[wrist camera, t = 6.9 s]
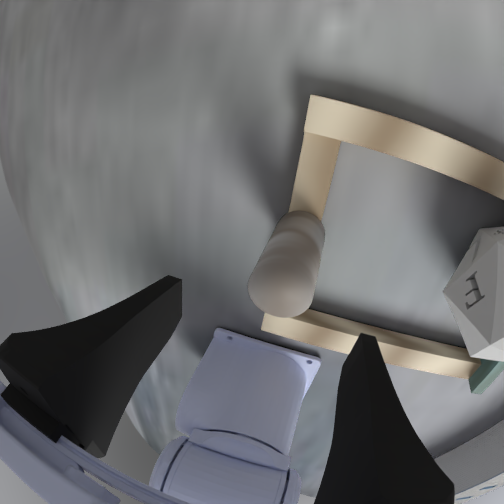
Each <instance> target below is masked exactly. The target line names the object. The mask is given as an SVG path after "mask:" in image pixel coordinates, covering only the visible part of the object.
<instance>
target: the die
mask: <svg viewBox="0 0 504 504" xmlns="http://www.w3.org/2000/svg"><path fill="white" fill-rule="evenodd" d="M443 293H444V296H445V298H446V300H447V302H448V304H449V306H450V309H451V311H452V313H453V316H454V318H455V320H456V322H457V325H458V327H459V330H460V332H461V335H462V337H463V340H464V342H465V345H466V347H467V350H468V352H469V355H470V357H475V358H481V359H488V360H495V361H502V362H504V227H492V228H480V229H479V230H478V232H477V234H476V236H475V238H474V240H473V241H472V243H471V245H470V247H469V250H468V251H467V252H466V254H465V256H464V257H463V259H462V261H461V263H460V264H459V266H458V268H457V269H456V271H455V273H454V274H453V276H452V277H451V279H450V281H449V282H448V284H447V285H446V287H445V288H444V290H443Z"/></svg>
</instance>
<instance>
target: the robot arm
mask: <svg viewBox="0 0 504 504" xmlns="http://www.w3.org/2000/svg"><path fill="white" fill-rule="evenodd" d="M181 317H182V279H179V278H176V277H173V276H170V275H168V276H166V277H164V278H162V279H161V280H159V281H157V282H155V283H153V284H152V285H150V286H148V287H147V288H145V289H143V290H141V291H140V292H138V293H136V294H134V295H132V296H130V297H129V298H127V299H125V300H123V301H121V302H119V303H117V304H115V305H113V306H111V307H109V308H107V309H105V310H102V311H100V312H98V313H95V314H93V315H90V316H88V317H85V318H82V319H79V320H76V321H73V322H70V323H66V324H63V325H60V326H56V327H51V328H47V329H42V330H36V331H29V332H22V333H12V334H11V335H10V336H9V337H8V338H7V339H6V340H5V341H4V342H3V343H2V344H1V345H0V369H1V371H2V372H3V374H4V375H5V377H6V378H7V380H8V381H9V382H10V384H9V385H8V386H7V387H6V386H5V385H4V384H3V383H2V382H1V381H0V459H1V460H2V461H3V462H4V463H5V464H6V465H7V466H8V467H9V468H10V469H11V470H12V471H13V472H14V473H15V474H16V475H17V476H18V477H19V478H20V479H21V480H22V481H23V482H24V483H26V484H27V485H28V486H29V487H30V488H31V489H32V490H33V491H34V492H36V493H37V494H38V495H39V496H40V497H41V498H42V499H44V500H45V501H46V502H47V503H49V504H119V503H120V499H119V498H118V497H116V496H114V495H113V494H112V493H110V492H109V491H108V490H107V489H106V488H105V487H104V486H102V485H101V484H99V483H97V482H96V481H94V480H93V479H91V478H90V477H88V476H87V475H85V474H84V470H85V471H87V472H88V473H90V474H91V475H93V476H95V477H96V478H98V479H99V480H101V481H103V482H105V483H106V484H108V485H110V486H112V487H114V488H115V489H117V490H119V491H121V492H122V493H125V494H126V495H128V496H130V497H132V498H134V499H136V500H138V501H140V502H142V503H144V504H297V503H298V500H299V495H300V491H301V478H300V476H299V475H298V472H297V470H295V469H291V468H289V465H290V462H291V457H290V456H288V454H289V451H290V447H291V443H292V440H293V436H294V432H295V428H296V424H297V420H298V416H299V412H300V408H301V404H302V400H303V398H304V396H305V394H306V392H307V390H308V389H309V387H310V385H311V383H312V381H313V379H314V377H315V375H316V373H317V371H318V369H319V367H320V365H321V359H320V358H318V357H315V356H312V355H308V354H304V353H301V352H297V351H294V350H290V349H287V348H283V347H280V346H276V345H273V344H270V343H266V342H263V341H260V340H256V339H253V338H250V337H247V336H244V335H241V334H237V333H234V332H231V331H228V330H225V329H222V328H216V329H215V331H214V338H213V339H212V341H211V343H210V345H209V347H208V348H207V350H206V352H205V354H204V356H203V357H202V359H201V361H200V363H199V365H198V367H197V368H196V370H195V372H194V374H193V376H192V378H191V379H190V381H189V383H188V385H187V387H186V389H185V391H184V394H183V396H182V399H181V401H180V404H179V407H178V410H177V415H176V422H175V425H176V429H177V430H178V431H180V432H182V433H184V434H186V435H188V436H190V437H189V438H188V437H186V436H180V437H178V438H177V439H174V440H172V441H171V442H169V443H168V445H167V446H166V447H165V448H164V450H163V451H162V453H161V454H160V456H159V458H158V460H157V462H156V464H155V466H154V469H153V472H152V474H151V478H150V482H149V486H148V485H146V484H144V483H142V482H140V481H138V480H136V479H134V478H132V477H129V476H128V475H126V474H124V473H122V472H120V471H118V470H117V469H115V468H113V467H111V466H109V465H108V464H106V463H104V462H103V461H101V460H99V459H98V458H101V457H104V456H105V455H106V452H107V450H108V447H109V445H110V442H111V439H112V437H113V434H114V432H115V430H116V427H117V426H118V423H119V421H120V419H121V417H122V415H123V413H124V410H125V408H126V406H127V404H128V402H129V400H130V398H131V397H132V395H133V393H134V391H135V389H136V387H137V385H138V384H139V382H140V380H141V379H142V377H143V376H144V374H145V373H146V371H147V370H148V368H149V367H150V366H151V364H152V363H153V361H154V360H155V359H156V357H157V356H158V354H159V353H160V352H161V350H162V349H163V347H164V346H165V345H166V343H167V342H168V340H169V339H170V337H171V336H172V334H173V332H174V330H175V329H176V327H177V325H178V323H179V321H180V319H181ZM230 336H231V337H230ZM309 360H311V361H309ZM81 448H82V449H81ZM454 500H455V487H454V483H453V482H452V481H451V480H450V479H449V477H448V476H447V475H446V474H445V473H444V472H443V471H442V469H441V468H440V467H439V466H438V464H437V463H436V462H435V460H434V459H433V458H432V457H431V455H430V454H429V452H428V451H427V449H426V448H425V446H424V445H423V443H422V442H421V440H420V439H419V437H418V435H417V434H416V432H415V430H414V429H413V427H412V425H411V423H410V421H409V419H408V418H407V416H406V414H405V412H404V410H403V407H402V405H401V403H400V401H399V398H398V396H397V394H396V391H395V389H394V386H393V384H392V381H391V378H390V376H389V373H388V371H387V368H386V365H385V362H384V359H383V356H382V353H381V351H380V348H379V345H378V342H377V339H376V337H375V336H372V335H368V334H364V333H360V335H359V337H358V339H357V341H356V342H355V344H354V346H353V348H352V350H351V352H350V353H349V355H348V357H347V359H346V361H345V362H344V364H343V366H342V371H341V376H340V381H339V386H338V394H337V404H336V414H335V423H334V432H333V439H332V445H331V449H330V453H329V457H328V461H327V465H326V468H325V472H324V475H323V478H322V481H321V485H320V488H319V491H318V493H317V496H316V499H315V502H314V504H454Z"/></svg>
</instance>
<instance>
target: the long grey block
mask: <svg viewBox="0 0 504 504" xmlns="http://www.w3.org/2000/svg"><path fill="white" fill-rule="evenodd" d="M434 460H435V462H436V463H437V464H438V466H439V467H440V468H441V469H442V471H443V472H444V473H445V474H446V475H447V476H448V477H449V479H450V480H451V481H452V482H453V483H454V487H455V500H454V504H462V503H465V502H467V501H470V500H472V499H475V498H477V497H480V496H482V495H484V494H486V493H489V492H491V491H493V490H495V489H497V488H499V487H501V486H503V485H504V419H503V420H502V421H500V422H499V423H497V424H496V425H494V426H493V427H491V428H490V429H488V430H486V431H485V432H483V433H481V434H480V435H478V436H476V437H475V438H473V439H471V440H469V441H468V442H466V443H464V444H462V445H461V446H459V447H457V448H455V449H453V450H451V451H449V452H447V453H445V454H443V455H441V456H439V457H437V458H435V459H434Z"/></svg>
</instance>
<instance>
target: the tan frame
mask: <svg viewBox="0 0 504 504" xmlns="http://www.w3.org/2000/svg"><path fill="white" fill-rule="evenodd" d="M304 131H305V134H304V139H303V144H302V149H301V154H300V159H299V164H298V169H297V173H296V178H295V183H294V188H293V193H292V198H291V202H290V207H289V212H288V213H287V214H285V215H284V216H283V217H282V218H281V219H280V221H279V222H278V224H277V226H276V228H275V230H274V232H273V234H272V236H271V238H270V240H269V242H268V243H267V245H266V247H265V249H264V251H263V253H262V255H261V257H260V259H259V261H258V263H257V265H256V266H255V268H254V270H253V272H252V274H251V276H250V278H249V281H248V292H249V295H250V298H251V299H252V301H253V302H254V304H255V305H256V306H257V307H258V308H259V309H261V310H262V311H264V312H265V314H264V318H263V323H262V327H261V330H263V331H266V332H269V333H273V334H276V335H280V336H283V337H286V338H290V339H293V340H297V341H301V342H304V343H308V344H311V345H315V346H319V347H322V348H326V349H330V350H334V351H338V352H342V353H346V354H349V353H350V352H351V350H352V348H353V346H354V344H355V342H356V341H357V339H358V337H359V335H360V333H364V334H368V335H372V336H375V337H376V339H377V342H378V345H379V348H380V351H381V353H382V356H383V359H384V362H385V363H388V364H392V365H397V366H401V367H406V368H411V369H416V370H420V371H426V372H431V373H436V374H441V375H447V376H452V377H458V378H464V379H469V384H470V389H471V393H475V394H482V393H483V392H484V391H485V390H486V388H487V387H488V386H489V385H490V384H491V383H492V382H493V381H494V380H495V379H496V378H497V377H498V375H499V374H500V373H501V372H502V371H503V370H504V362H502V361H495V360H488V359H481V358H475V357H470V355H469V352H468V350H467V349H465V348H461V347H456V346H452V345H447V344H443V343H439V342H435V341H430V340H426V339H422V338H418V337H414V336H410V335H405V334H401V333H397V332H393V331H389V330H385V329H382V328H378V327H374V326H370V325H366V324H362V323H358V322H355V321H351V320H347V319H343V318H340V317H336V316H332V315H329V314H325V313H321V312H318V311H314V310H311V309H308V308H309V307H310V305H311V303H312V300H313V296H314V291H315V286H316V281H317V276H318V271H319V266H320V261H321V256H322V251H323V245H324V240H325V230H324V226H323V224H322V223H321V219H322V216H323V212H324V208H325V204H326V200H327V196H328V193H329V189H330V185H331V181H332V177H333V173H334V168H335V164H336V160H337V156H338V152H339V147H340V143H341V141H345V142H348V143H352V144H355V145H359V146H362V147H366V148H369V149H373V150H376V151H379V152H382V153H385V154H389V155H392V156H395V157H398V158H401V159H404V160H407V161H410V162H413V163H415V164H418V165H421V166H424V167H426V168H429V169H432V170H435V171H437V172H440V173H442V174H445V175H447V176H450V177H453V178H455V179H457V180H460V181H462V182H465V183H467V184H469V185H472V186H474V187H476V188H479V189H481V190H483V191H485V192H488V193H490V194H492V195H494V196H496V197H498V198H500V199H503V200H504V162H503V161H501V160H499V159H497V158H495V157H493V156H491V155H489V154H487V153H485V152H483V151H481V150H478V149H476V148H474V147H472V146H470V145H468V144H465V143H463V142H461V141H458V140H456V139H454V138H451V137H449V136H446V135H444V134H442V133H439V132H437V131H434V130H431V129H429V128H426V127H423V126H421V125H418V124H415V123H412V122H410V121H407V120H404V119H401V118H398V117H395V116H392V115H389V114H385V113H382V112H379V111H376V110H372V109H369V108H365V107H362V106H358V105H355V104H351V103H347V102H343V101H339V100H335V99H331V98H327V97H323V96H318V95H314V94H313V95H310V100H309V106H308V111H307V116H306V121H305V127H304Z"/></svg>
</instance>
